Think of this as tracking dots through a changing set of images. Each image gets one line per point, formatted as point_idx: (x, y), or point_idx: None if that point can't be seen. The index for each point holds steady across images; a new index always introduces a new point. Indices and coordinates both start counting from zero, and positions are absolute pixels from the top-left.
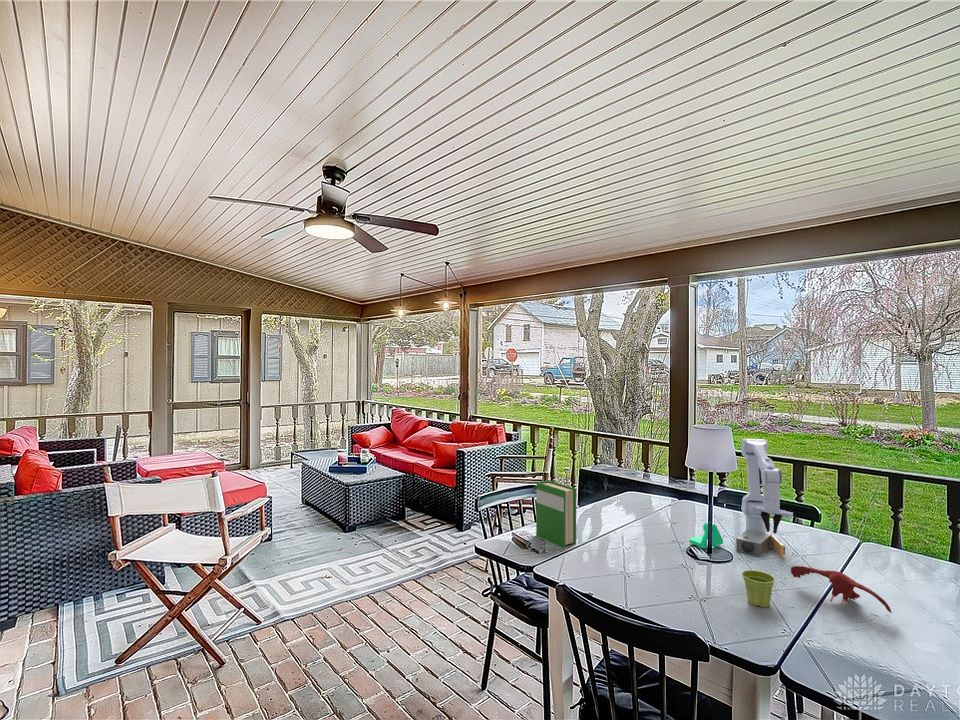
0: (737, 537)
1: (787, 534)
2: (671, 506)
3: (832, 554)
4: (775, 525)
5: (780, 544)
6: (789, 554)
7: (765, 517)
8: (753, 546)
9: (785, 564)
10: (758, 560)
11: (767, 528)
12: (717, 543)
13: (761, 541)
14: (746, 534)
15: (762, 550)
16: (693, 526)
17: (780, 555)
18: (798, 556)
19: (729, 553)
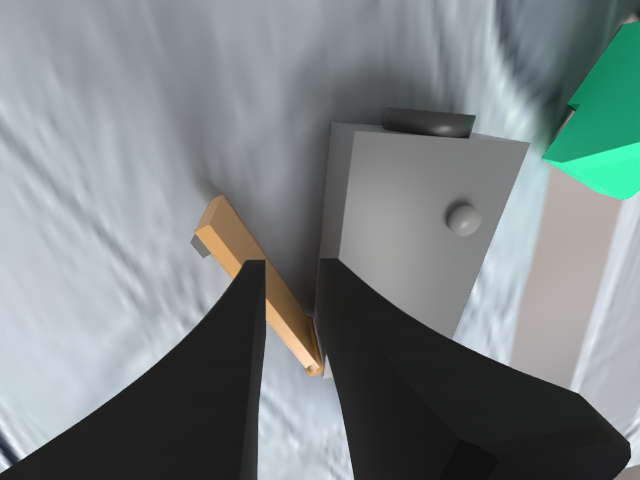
0: (518, 170)
1: (288, 465)
2: (626, 430)
3: (65, 409)
4: (221, 320)
5: (220, 239)
6: (208, 278)
7: (460, 400)
8: (394, 120)
9: (154, 63)
10: (329, 8)
11: (337, 272)
12: (590, 107)
13: (354, 205)
14: (452, 280)
15: (331, 176)
16: (608, 321)
17: (231, 207)
18: (161, 281)
19: (511, 25)
